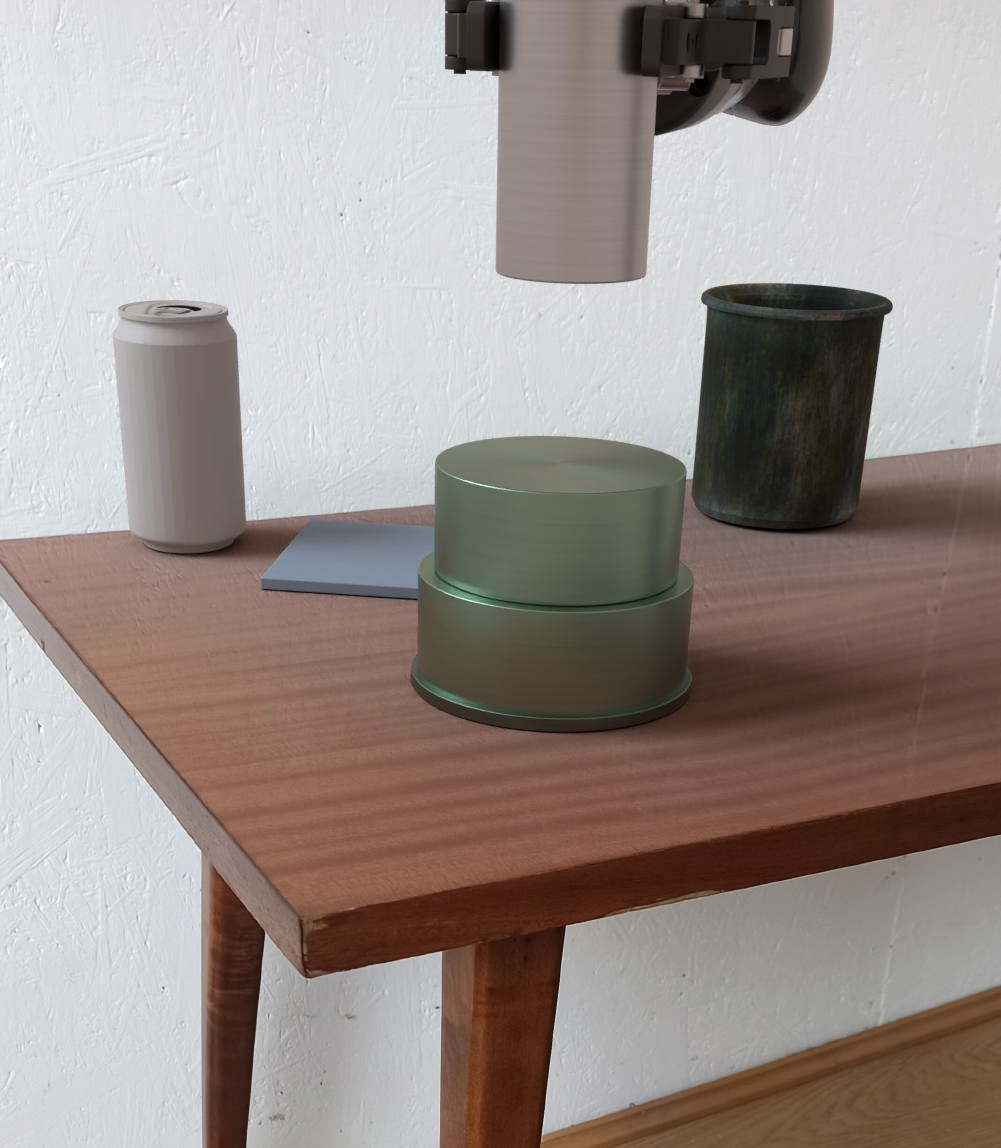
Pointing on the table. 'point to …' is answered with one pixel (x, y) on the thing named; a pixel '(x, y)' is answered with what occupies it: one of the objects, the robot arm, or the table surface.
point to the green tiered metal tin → (555, 585)
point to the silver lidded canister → (573, 141)
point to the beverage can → (180, 424)
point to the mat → (352, 559)
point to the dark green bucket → (785, 402)
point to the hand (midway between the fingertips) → (563, 38)
